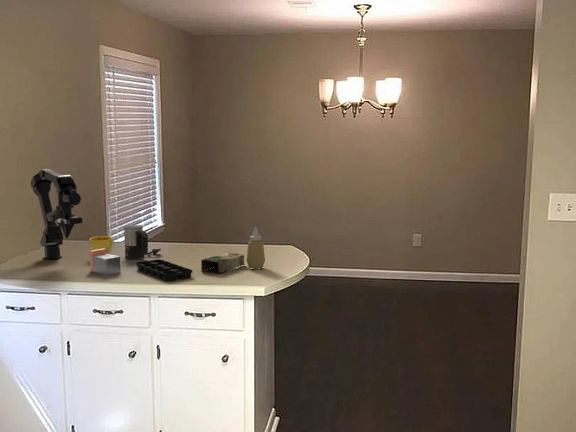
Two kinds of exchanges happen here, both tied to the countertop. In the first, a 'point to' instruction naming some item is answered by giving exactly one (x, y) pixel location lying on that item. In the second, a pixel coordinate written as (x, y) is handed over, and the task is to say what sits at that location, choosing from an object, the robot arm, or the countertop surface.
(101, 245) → the plant pot
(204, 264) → the juice carton
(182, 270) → the egg carton
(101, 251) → the pink block
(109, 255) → the housing
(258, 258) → the squeeze bottle
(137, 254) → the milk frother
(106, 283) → the countertop surface
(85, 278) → the countertop surface
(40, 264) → the countertop surface
